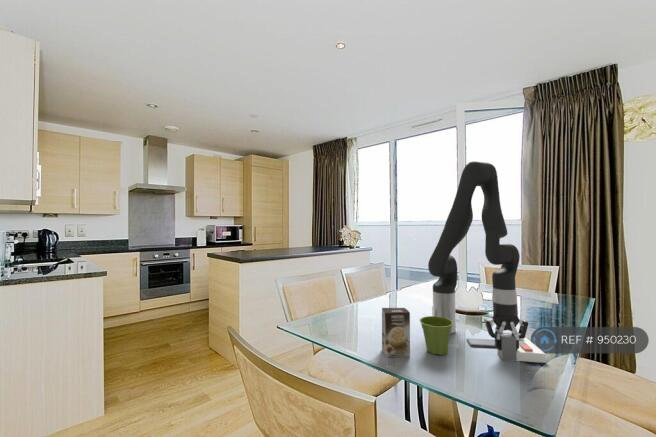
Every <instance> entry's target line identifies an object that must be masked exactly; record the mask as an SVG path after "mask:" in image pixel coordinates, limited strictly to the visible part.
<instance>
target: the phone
mask: <svg viewBox="0 0 656 437" xmlns="http://www.w3.org/2000/svg"><path fill="white" fill-rule="evenodd" d="M466 342H467V343H468V345H469V347H471V348H472V347H474V348H488V349H489V348H490V349H497V347H496V346H495V339H487V338H486V339H485V338H468V337H467V338H466Z"/></svg>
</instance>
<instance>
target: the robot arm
mask: <svg viewBox="0 0 656 437" xmlns="http://www.w3.org/2000/svg"><path fill="white" fill-rule="evenodd" d="M477 187H480V189H481V191H482V193H483V205H482V210H481V222H482V226H483V230H484V233H485V239H484V240H485V242H484V243H485V248H484V253H485V254H484V255H485V258H486V259H487V261H488V262H489V263H490V264H492V265H495V266H499V265H501V267H500V268H499V269H497V270H495V271H493V272H492V275H491V278H492V280H491V281H492V292H491V293H492V294H491V299H492V312H493V313H492V314H493V315H492V317H491V318H489V319H487V318H485V319H484V320H483V322H484V325H485V327H486V330H487V333H488V335H489V336H490V337H491V338H494V340H495V346H496V347H497V348H496V349H497V351H498V350H501V340H500V338H501V334H502V333H504V332H505V331H509V332H510V333H512V335H514V336H515V337H516V351H517V350H518V349H519V339H521V338H523V339H524V338H525V337H526V334H527V331H528V327H529V322H528V321H527V320H525V319H520V318H519V311H518V310H519V309H518V308H519V307H518V296H517V295H518V294H517V289H516V275H517V271H518V267H519V265H520V264H519V263H520V258H521V257H520V252H519V250H518V248H517V247H516V245H514V244H512V243H506V244H505V243H503V244H500V241H501V239H503V238H505V237H506V236H507V235H508V229H507V225H506V221H505V219H504V215H503V211H502V210H503V209H502V207H501V200H500V199H501V198H500V189H499V180H498V172H497V168H496V167H495V165H493V164H492V163H489V162H485V161H484V162H483V161H476V160H474V161H473V160H472V161H469V162H467V164H466V165H465V166H464V167H463V170H462V172H461V175H460V179H459V184H458V186H457V190H456V194H455V197H454V200H453V203H452V205H451V208H450V211H449V213H448V216H447V218H446V220H445V224H444V227H443V230H442V232H441V234H440V237H439V239H438V242H437V244H436V245H435V248H434V250H433V252H432V253H431V256H430V258H429V259H428V265H427V266H428V272H429V274H430V275H432V277H438V278H437V279H438V280H436V281H435V282H434V283H433V284H432V308H431V310H432V311H431V313H432V314H431V316H438V317H444V318H447V319H450V320H451V321H453V325H452V326H451V331H450V335H451V334H455V333H456V332H457V324H456V323H457V322H456V321H457V320H456V319H457V318H456V317H457V316H456V315H457V314H456V287H457V285H458V263H457V261H456V258H455V257H454V256H452V254H451V253H452V252H453V250H454V249H455V248H456V247H457V246H458V244H460V243H461V242H462V241H463V240H464V238H465V237H466V236H467V234H468V232H469V230H470V228H471V226H472V223H473V220H474V219H473V218H474V213H473V211H474V210H473V206H472V199H473V196H474V192H475V191H476V188H477ZM493 324H495V331H494V330H493V327H492V326H493ZM518 324H519V329H518V331H517V328H516V327H517V326H518Z"/></svg>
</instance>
